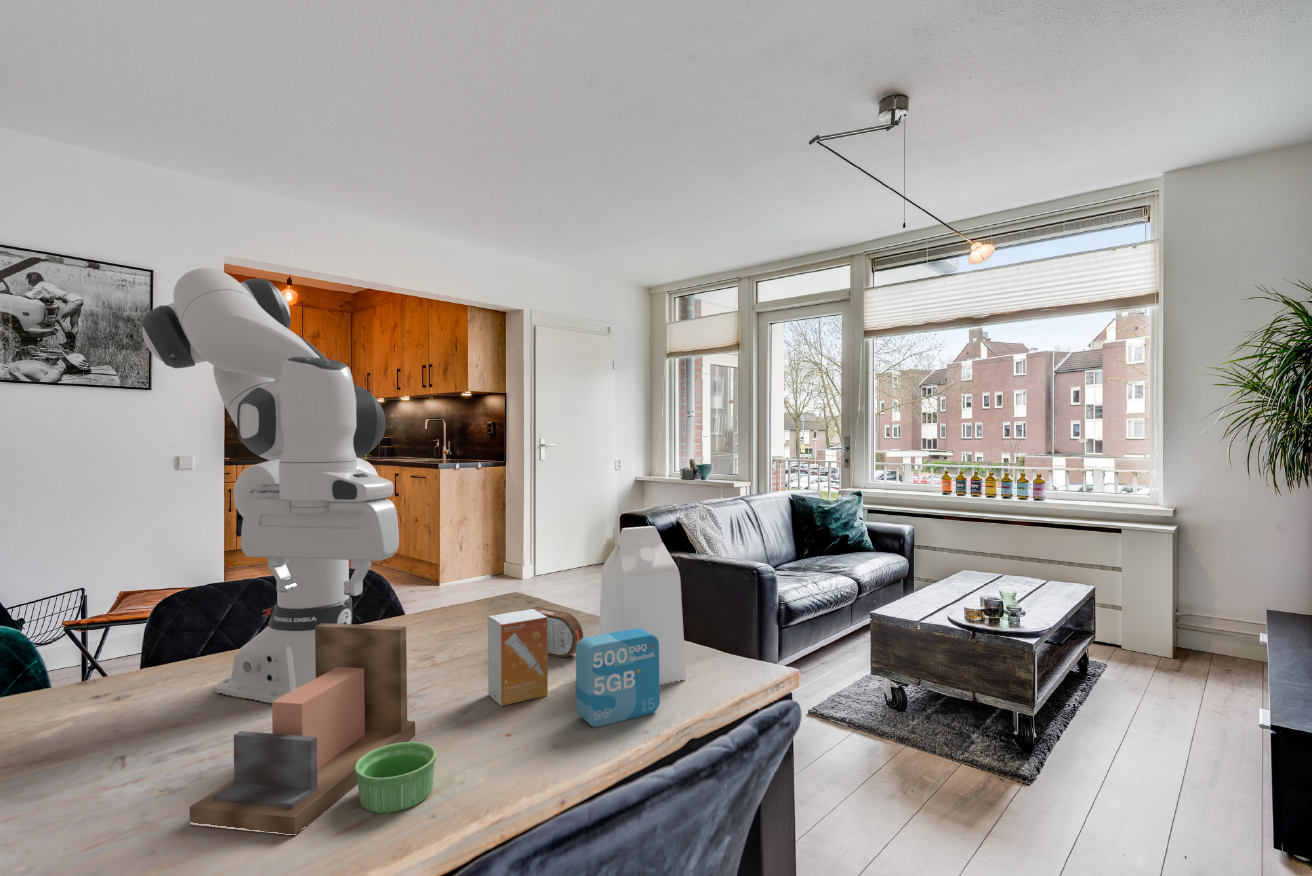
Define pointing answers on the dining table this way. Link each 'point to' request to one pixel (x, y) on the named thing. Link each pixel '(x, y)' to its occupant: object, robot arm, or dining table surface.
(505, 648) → the small box
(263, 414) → the robot arm
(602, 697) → the data package
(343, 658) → the shelf stand
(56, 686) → the dining table surface
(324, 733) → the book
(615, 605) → the milk
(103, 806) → the dining table surface
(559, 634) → the tin
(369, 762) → the ramekin
